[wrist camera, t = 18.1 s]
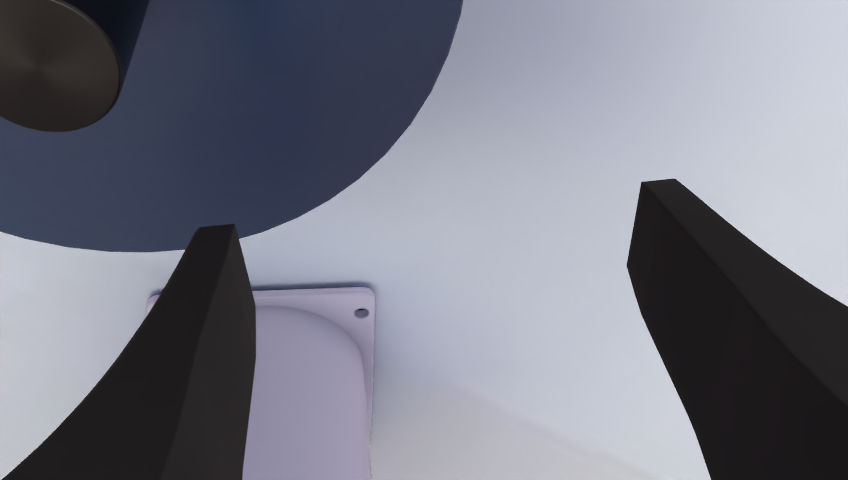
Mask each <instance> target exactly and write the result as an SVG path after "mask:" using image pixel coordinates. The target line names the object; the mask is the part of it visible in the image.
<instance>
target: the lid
mask: <svg viewBox="0 0 848 480" xmlns="http://www.w3.org/2000/svg"><path fill="white" fill-rule="evenodd" d="M462 4H463V0H0V232H4V233H7V234H11V235H14V236H18V237H21V238H25V239H29V240H34V241H39V242H44V243H49V244H54V245H60V246H65V247H71V248H81V249H90V250H99V251H108V252H159V251H172V250H185V249H186V248H187V246H188V244H189V242H190V240H191V238H192V236H193V234H194V233H195V232H196V230H197V229H198V228H199V227H206V226H216V225H226V224H235V226H236V230H237V234H238V238H239V239H240V238H244V237H247V236H250V235H254V234H257V233H261V232H264V231H266V230H269V229H271V228H274V227H276V226H278V225H281V224H283V223H286V222H288V221H291V220H293V219H295V218H298V217H299V216H301V215H303V214H305V213H307V212H309V211H310V210H312V209H314V208H316V207H318V206H319V205H321V204H323V203H325V202H327V201H328V200H330V199H331V198H333V197H334V196H336V195H337V194H338V193H340V192H341V191H343V190H344V189H345V188H347V187H348V186H349V185H351V184H352V183H354V182H355V181H356V180H358V179H359V178H360V177H361V176H362V175H363V174H365V173H366V172H367V171H368V170H369V169H370V168H371V167H372V166H373V165H374V164H375V163H376V162H378V161H379V160H380V159H381V158H382V157H383V156H384V155H385V154H386V153H387V152H388V151H389V149H390V148H391V147H392V146H393V145H394V143H395V142H396V141H397V140H398V139H399V137H400V136H401V135H402V134H403V133H404V131H405V130H406V129H407V128H408V127H409V126H410V124H411V123H412V121H413V119H414V118H415V116H416V115H417V113H418V112H419V110H420V108H421V107H422V105H423V104H424V102H425V101H426V99H427V97H428V96H429V94H430V93H431V91H432V89H433V87H434V85H435V82H436V80H437V78H438V76H439V74H440V72H441V69H442V67H443V65H444V63H445V61H446V58H447V56H448V54H449V51H450V48H451V44H452V41H453V38H454V35H455V31H456V28H457V25H458V21H459V18H460V15H461V10H462Z"/></svg>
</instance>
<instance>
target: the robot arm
mask: <svg viewBox="0 0 848 480" xmlns="http://www.w3.org/2000/svg"><path fill="white" fill-rule="evenodd" d="M627 268H628V272H629V275H630V279H631V282H632V286H633V289H634V293H635V296H636V299H637V302H638V305H639V308H640V311H641V314H642V317H643V319H644V321H645V323H646V326H647V328H648V330H649V332H650V334H651V337H652V339H653V341H654V343H655V345H656V348H657V350H658V352H659V354H660V356H661V358H662V360H663V363H664V365H665V367H666V369H667V371H668V373H669V375H670V378H671V380H672V382H673V384H674V386H675V388H676V390H677V393H678V395H679V397H680V399H681V401H682V403H683V405H684V408H685V410H686V412H687V414H688V417H689V419H690V421H691V424H692V426H693V429H694V431H695V434H696V436H697V439H698V442H699V445H700V448H701V451H702V454H703V457H704V460H705V463H706V466H707V469H708V471H709V474H710V477H711V480H848V307H847V306H846V305H844V304H842V303H841V302H839V301H837V300H836V299H834V298H832V297H831V296H829V295H827V294H826V293H824V292H822V291H821V290H819V289H818V288H816V287H815V286H813V285H812V284H810V283H809V282H807V281H806V280H804V279H803V278H801V277H800V276H798V275H797V274H796V273H794V272H793V271H791V270H790V269H788V268H787V267H786V266H784V265H783V264H781V263H780V262H778V261H777V260H776V259H774V258H773V257H772V256H770V255H769V254H768V253H766V252H765V251H764V250H762V249H761V248H760V247H758V246H757V245H756V244H755V243H753V242H752V241H751V240H749V239H748V238H747V237H746V236H744V235H743V234H742V233H741V232H739V231H738V230H737V229H736V228H734V227H733V226H732V225H731V224H729V223H728V222H727V221H726V220H725V219H723V218H722V217H721V216H720V215H719V214H717V213H716V212H715V211H714V210H712V209H711V208H710V207H709V206H708V205H707V204H705V203H704V202H703V201H702V200H701V199H699V198H698V197H697V196H696V195H695V194H693V193H692V192H691V191H690V190H689V189H687V188H686V187H685V186H684V185H682V184H681V183H680V182H679V181H677V180H676V179H666V180H656V181H647V182H641V188H640V193H639V199H638V205H637V210H636V216H635V222H634V227H633V233H632V239H631V244H630V250H629V256H628V261H627ZM360 308H363V309H365V310H361V311H360V310H357V309H360ZM146 314H147V317H146V318H145V320H144V321H143V323H142V324H141V325H140V327H139V328H138V330H137V331H136V333H135V334H134V335H133V337H132V338H131V340H130V341H129V343H128V344H127V345H126V347H125V348H124V350H123V351H122V352H121V354H120V355H119V357H118V358H117V359H116V361H115V362H114V363H113V364H112V366H111V367H110V368H109V370H108V371H107V372H106V373H105V375H104V376H103V377H102V378H101V380H100V381H99V382H98V383H97V384H96V386H95V387H94V388H93V389H92V390H91V391H90V393H89V394H88V395H87V396H86V397H85V399H84V400H83V401H82V402H81V403H80V404H79V405H78V406H77V407H76V408H75V409H74V411H73V412H72V413H71V414H70V415H69V416H68V417H67V418H66V419H65V420H64V421H63V422H62V423H61V425H60V426H59V427H58V428H57V429H56V430H55V431H54V432H53V433H52V434H51V435H50V436H49V437H48V438H47V439H46V440H45V441H44V442H43V443H42V444H41V445H40V446H39V447H38V448H37V449H36V450H34V451H33V452H32V453H31V454H30V455H29V456H28V457H27V458H26V459H24V460H23V461H22V462H21V463H20V464H19V465H18V466H17V467H16V468H15V469H13V470H12V471H11V472H10V473H9V474H8V475H7V476H6V477H4V478H3V479H2V480H372V474H371V461H370V448H369V445H370V444H371V431H372V398H373V365H374V331H375V295H374V292H373V291H372V290H371V289H369V288H366V287H347V288H320V289H293V290H266V291H252V289H251V285H250V281H249V278H248V274H247V270H246V266H245V262H244V258H243V254H242V250H241V246H240V242H239V238H238V234H237V230H236V226H235V224H226V225H216V226H206V227H199V228H198V229H197V230H196V232H195V233H194V234H193V236H192V238H191V240H190V242H189V244H188V246H187V248H186V250H185V252H184V254H183V256H182V258H181V259H180V261H179V263H178V265H177V267H176V269H175V270H174V272H173V274H172V276H171V277H170V279H169V281H168V283H167V284H166V286H165V288H164V289H163V291H162V292H161V294H159V295H154V296H152V297H150V298H149V300H148V301H147V305H146Z"/></svg>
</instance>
